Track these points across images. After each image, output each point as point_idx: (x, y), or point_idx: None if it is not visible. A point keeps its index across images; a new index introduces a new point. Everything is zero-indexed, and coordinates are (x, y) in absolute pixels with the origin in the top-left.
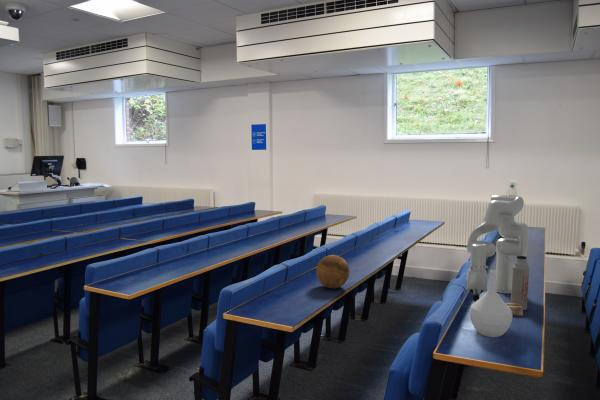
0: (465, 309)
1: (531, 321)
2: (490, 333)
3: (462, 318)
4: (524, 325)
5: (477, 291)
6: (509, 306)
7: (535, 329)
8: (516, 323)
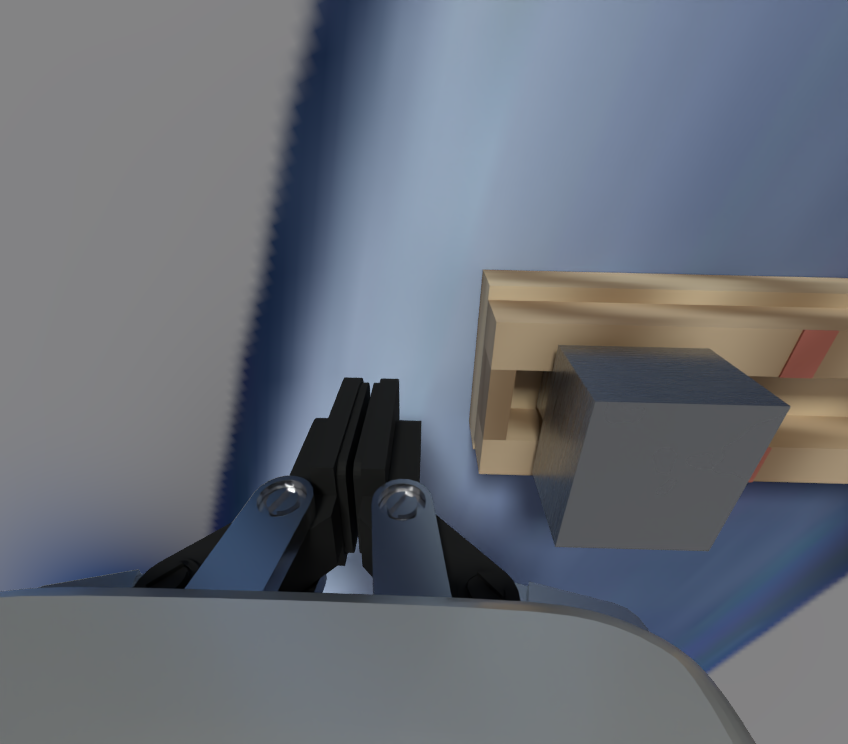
0: (271, 324)
1: (828, 545)
2: None
3: None
4: (698, 605)
5: (376, 552)
6: (830, 471)
7: (728, 644)
8: (660, 583)
